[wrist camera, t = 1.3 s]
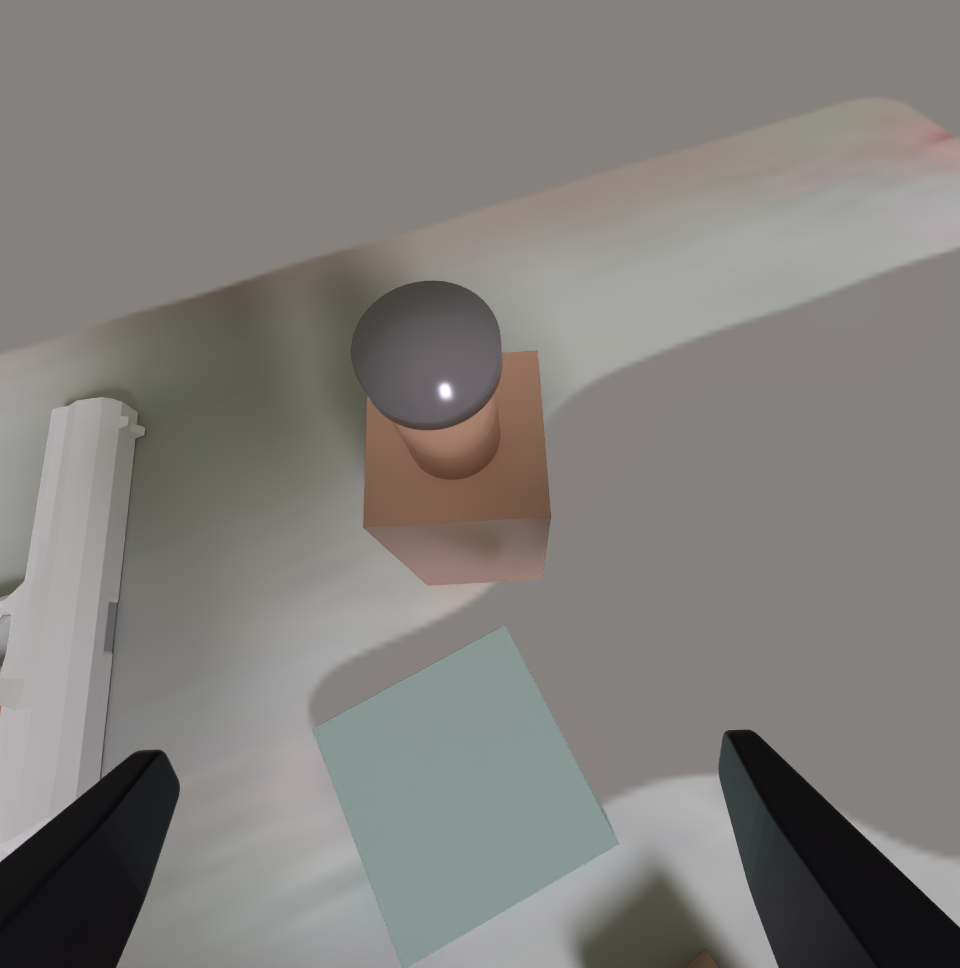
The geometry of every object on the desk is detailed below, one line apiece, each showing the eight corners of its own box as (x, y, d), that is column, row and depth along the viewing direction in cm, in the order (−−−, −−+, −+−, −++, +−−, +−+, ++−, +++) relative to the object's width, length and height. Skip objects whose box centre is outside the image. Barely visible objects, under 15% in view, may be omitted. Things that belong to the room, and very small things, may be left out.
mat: (615, 837, 20) (619, 843, 19) (407, 958, 19) (402, 969, 18) (506, 626, 22) (505, 624, 22) (319, 726, 22) (312, 728, 21)
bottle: (542, 579, 23) (560, 450, 10) (427, 585, 23) (296, 468, 10) (534, 471, 24) (540, 233, 11) (426, 477, 25) (310, 253, 12)
